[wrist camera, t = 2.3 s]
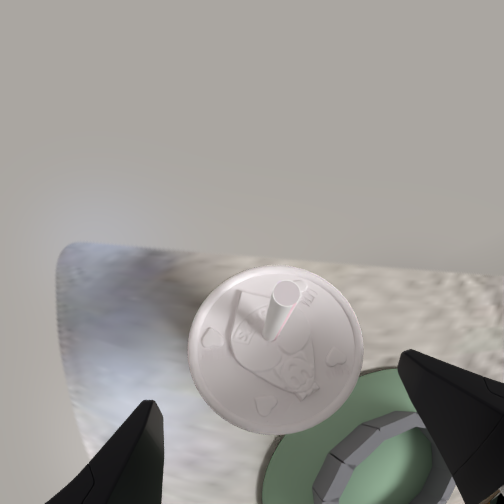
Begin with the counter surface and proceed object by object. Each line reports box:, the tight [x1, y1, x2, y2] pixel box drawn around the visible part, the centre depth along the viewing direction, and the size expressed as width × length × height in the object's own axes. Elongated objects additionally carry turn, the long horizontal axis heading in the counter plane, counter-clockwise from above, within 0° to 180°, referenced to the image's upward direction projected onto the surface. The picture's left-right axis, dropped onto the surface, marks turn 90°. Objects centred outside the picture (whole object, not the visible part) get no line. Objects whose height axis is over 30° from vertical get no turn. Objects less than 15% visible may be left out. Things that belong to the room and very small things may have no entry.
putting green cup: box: [262, 368, 456, 504], centre depth 11 cm, size 18×18×3 cm
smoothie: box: [188, 265, 364, 435], centre depth 11 cm, size 6×6×14 cm
